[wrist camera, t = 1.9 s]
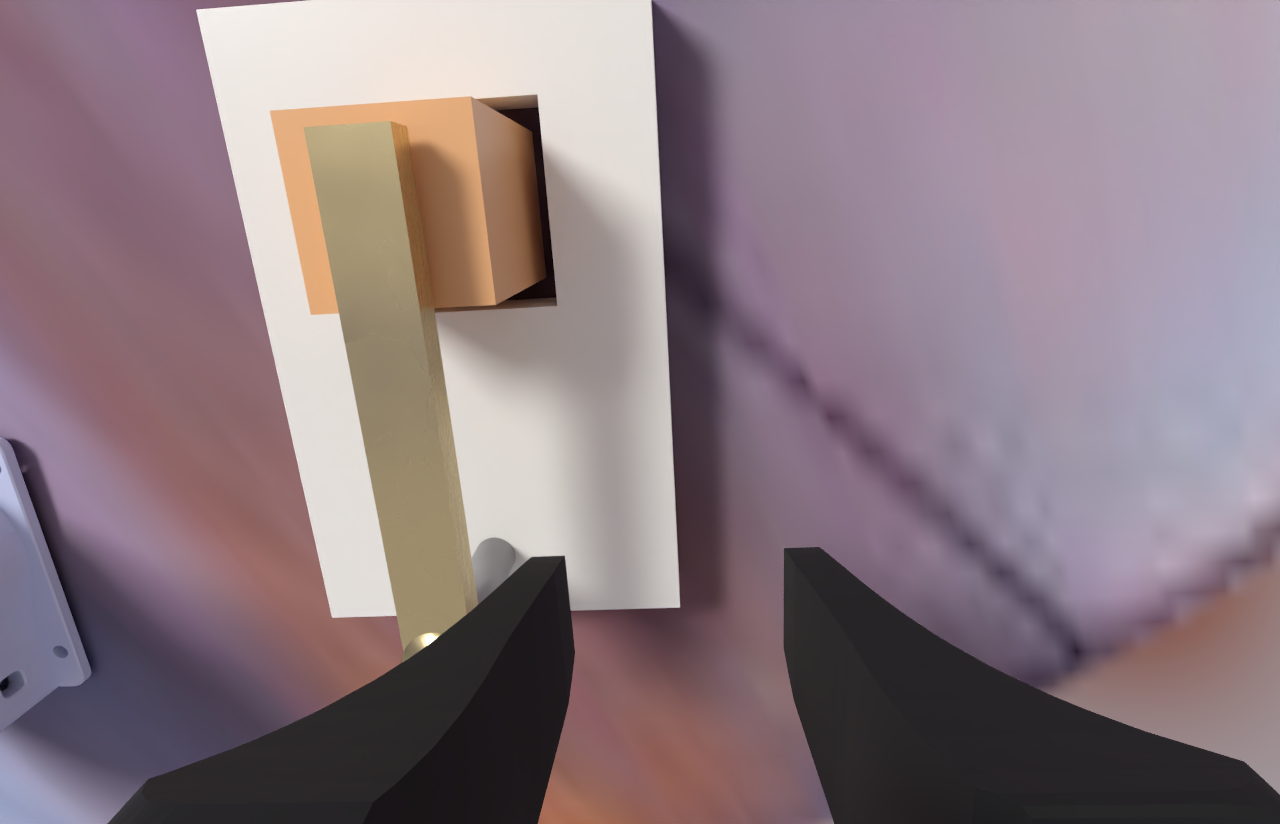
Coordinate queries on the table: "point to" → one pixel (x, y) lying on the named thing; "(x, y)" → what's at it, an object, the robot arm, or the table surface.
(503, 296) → the plug
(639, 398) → the socket block
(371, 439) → the bar
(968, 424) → the table surface
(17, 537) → the robot arm
